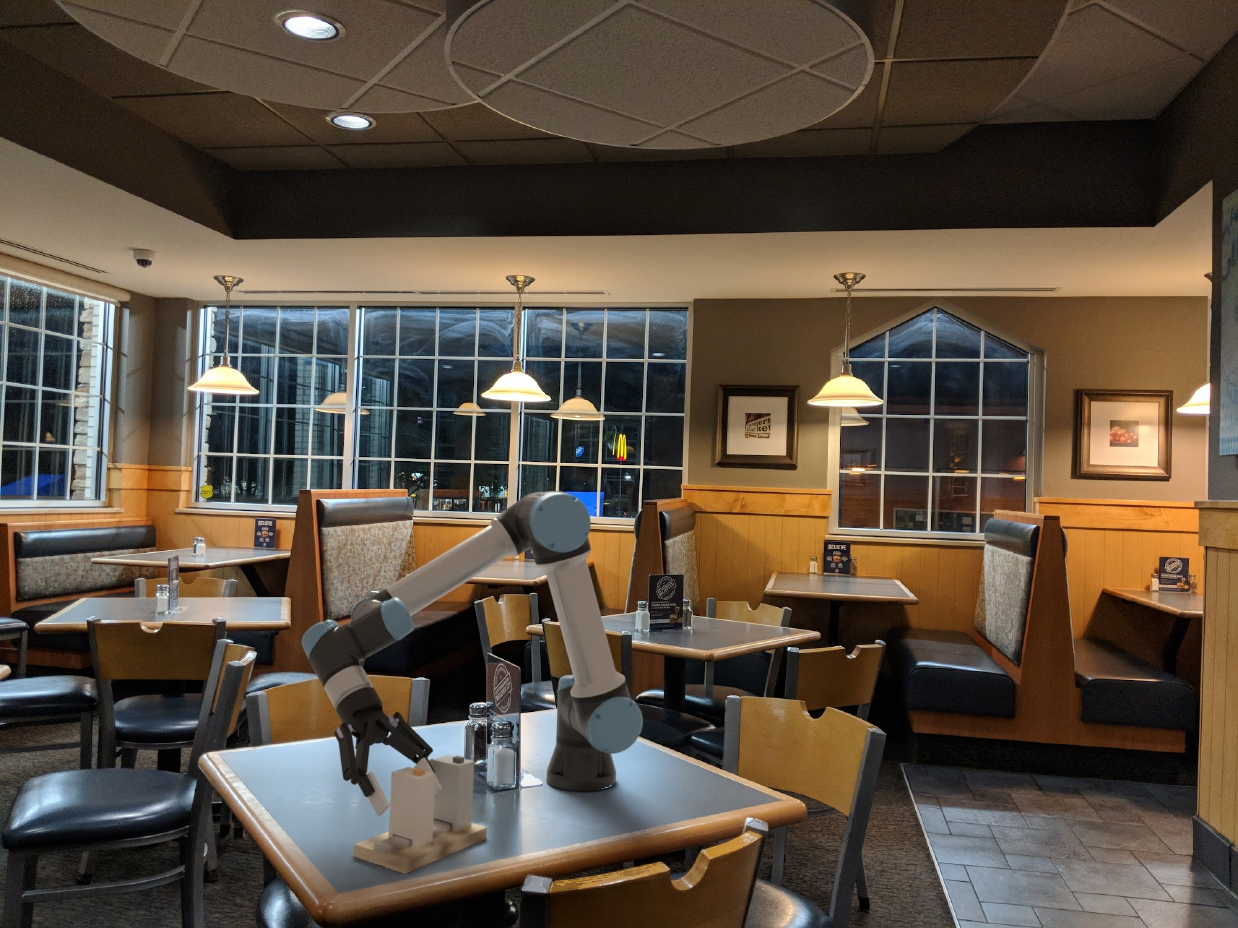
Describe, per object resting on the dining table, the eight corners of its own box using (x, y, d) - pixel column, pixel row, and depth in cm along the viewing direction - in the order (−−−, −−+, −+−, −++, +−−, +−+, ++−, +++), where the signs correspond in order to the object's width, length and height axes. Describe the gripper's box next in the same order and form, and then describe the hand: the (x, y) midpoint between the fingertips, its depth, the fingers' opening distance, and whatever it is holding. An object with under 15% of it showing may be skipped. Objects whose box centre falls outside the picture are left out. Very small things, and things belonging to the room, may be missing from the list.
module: (388, 839, 159) (391, 767, 159) (405, 832, 162) (408, 762, 163) (415, 847, 155) (419, 774, 156) (432, 841, 159) (435, 768, 159)
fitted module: (429, 823, 167) (432, 754, 168) (444, 817, 170) (447, 750, 171) (456, 831, 164) (459, 761, 164) (471, 825, 167) (474, 756, 168)
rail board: (436, 823, 173) (437, 807, 173) (486, 838, 166) (487, 821, 166) (353, 856, 156) (354, 837, 156) (405, 873, 149) (406, 854, 150)
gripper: (392, 701, 178) (447, 798, 169) (287, 721, 158) (344, 832, 149) (414, 676, 176) (471, 774, 167) (310, 693, 155) (369, 805, 146)
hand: (411, 801), depth 158 cm, fingers open, 12 cm apart
